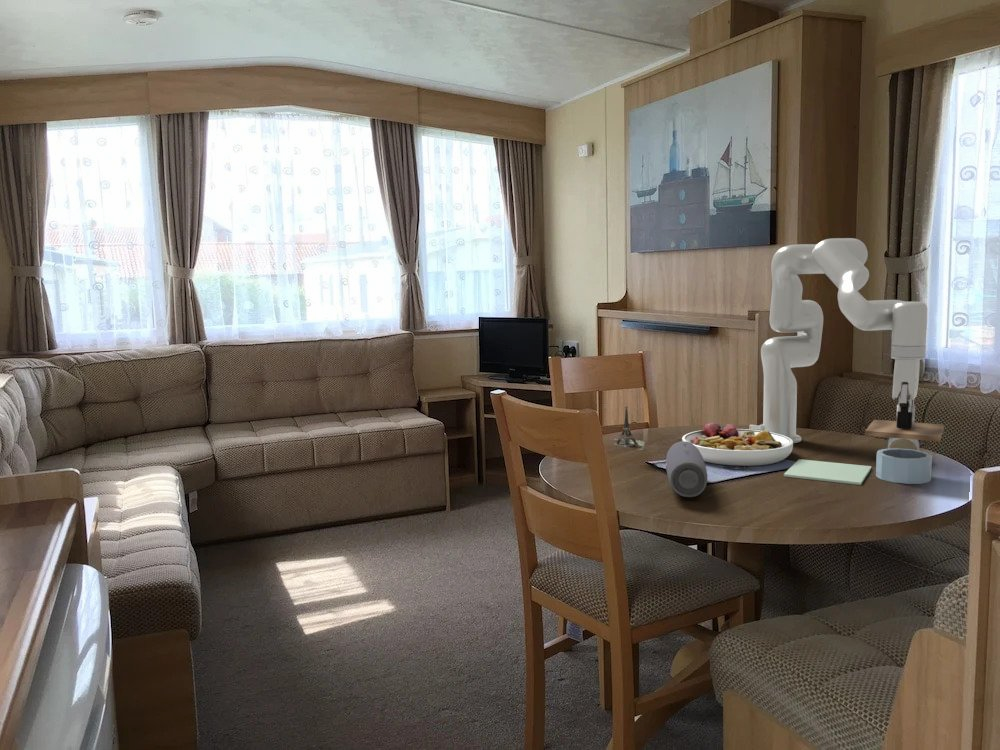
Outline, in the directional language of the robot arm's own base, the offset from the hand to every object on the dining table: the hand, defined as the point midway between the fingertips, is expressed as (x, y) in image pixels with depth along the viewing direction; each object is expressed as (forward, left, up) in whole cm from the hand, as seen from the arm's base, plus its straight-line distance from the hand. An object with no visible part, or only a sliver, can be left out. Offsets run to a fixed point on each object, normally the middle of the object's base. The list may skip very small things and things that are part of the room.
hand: (905, 425), depth 197 cm
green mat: (-17, -3, -13) cm, 22 cm away
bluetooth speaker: (-44, -34, -13) cm, 57 cm away
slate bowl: (0, 0, -13) cm, 13 cm away
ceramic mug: (-1, +18, -13) cm, 23 cm away
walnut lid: (0, 0, -2) cm, 2 cm away
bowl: (-43, +6, -14) cm, 46 cm away
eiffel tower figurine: (-76, +6, -14) cm, 77 cm away
